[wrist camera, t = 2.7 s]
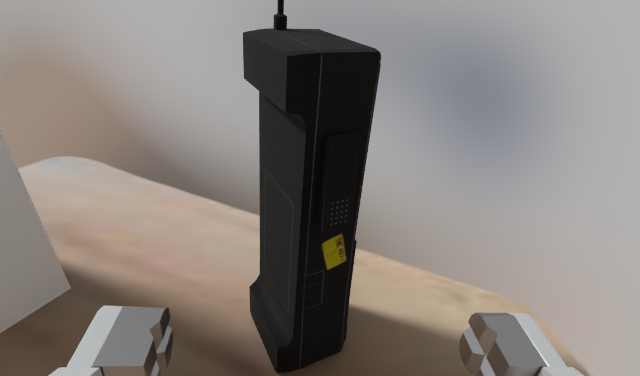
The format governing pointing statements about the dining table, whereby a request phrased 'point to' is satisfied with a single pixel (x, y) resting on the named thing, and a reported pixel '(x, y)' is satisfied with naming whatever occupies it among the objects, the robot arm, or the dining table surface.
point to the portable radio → (308, 183)
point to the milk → (23, 250)
